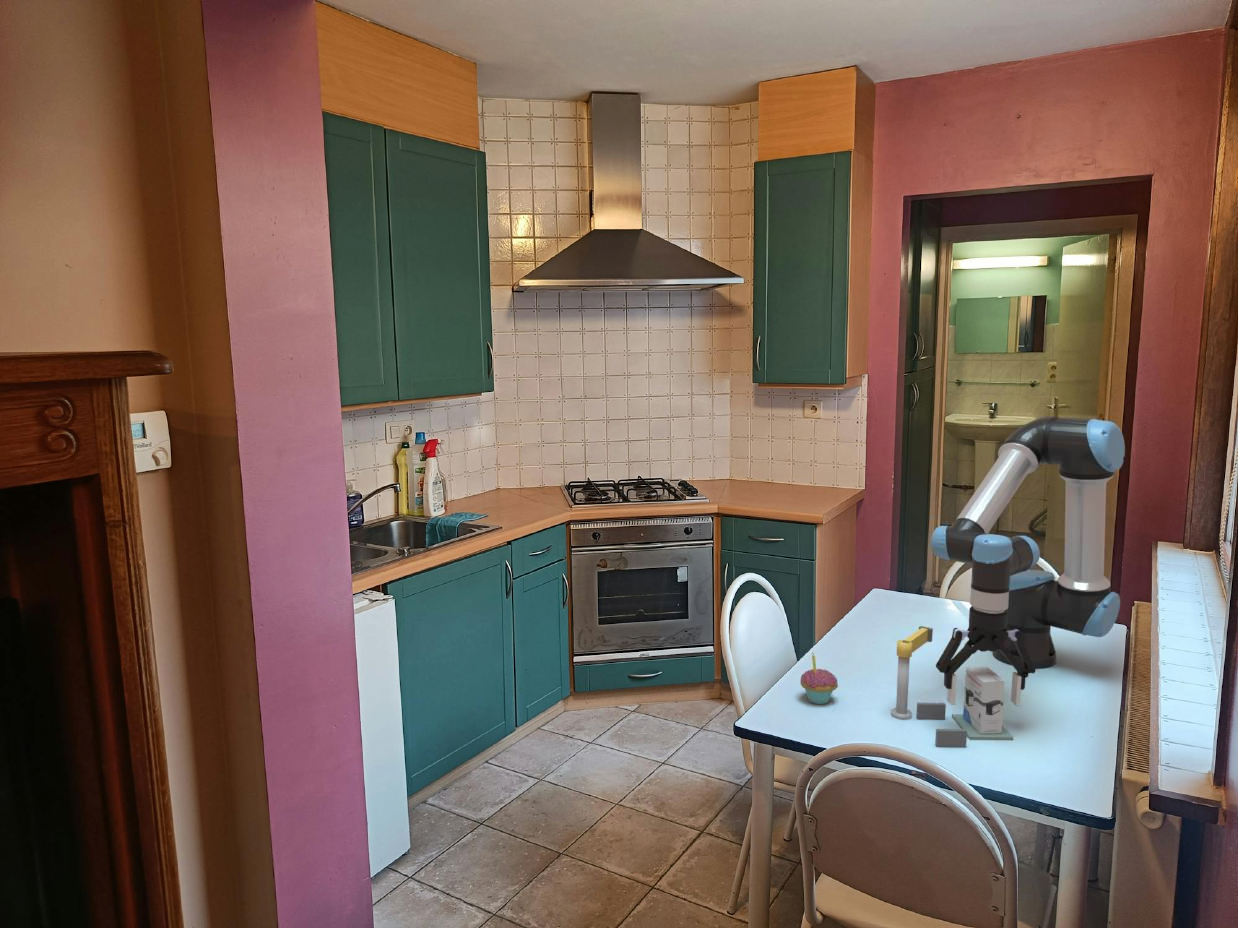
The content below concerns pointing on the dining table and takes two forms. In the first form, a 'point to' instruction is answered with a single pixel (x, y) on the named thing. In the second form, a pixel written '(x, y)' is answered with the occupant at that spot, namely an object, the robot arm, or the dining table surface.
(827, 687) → the cupcake
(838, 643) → the dining table surface
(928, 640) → the yellow long bar
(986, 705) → the ink box
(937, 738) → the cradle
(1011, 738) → the mat
